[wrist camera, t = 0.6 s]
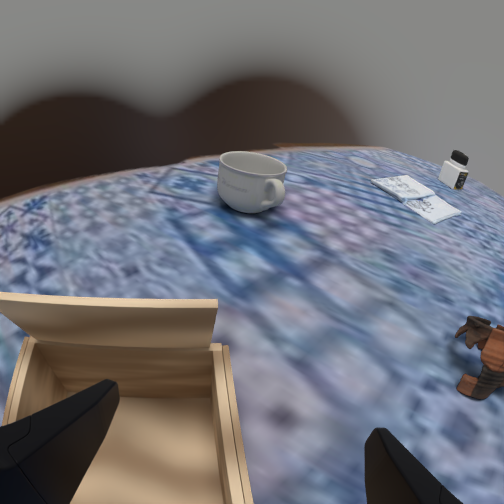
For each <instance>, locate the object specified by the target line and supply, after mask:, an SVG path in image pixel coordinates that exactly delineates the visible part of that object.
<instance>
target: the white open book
mask: <svg viewBox="0 0 504 504" xmlns="http://www.w3.org/2000/svg"><path fill="white" fill-rule="evenodd" d="M371 182H372V184H374V185H376V186H377V187H379V188H380V189H382V190H384V191H385V192H387V193H388V194H390V195H391V196H393V197H394V198H396V199H397V200H399V201H400V202H402V203H403V204H404V206H405V205H406V206H408V207H409V208H411V209H412V210H413V211H415V212H416V213H418V214H419V215H421V216H422V217H423V218H425V219H426V220H427V221H429V222H430V223H432V224H436V223H438V222H440V221H443V220H445V219H448V218H451V217H453V216H461V213H462V212H461V211H460V210H458V209H456V208H454V207H452V206H451V205H449V204H448V203H446V202H445V201H444V200H442V199H440V198H439V197H438V196H436V195H435V192H434V191H432V190H431V189H429V188H427V187H425V186H424V185H422V184H420V183H418V182H417V181H415V180H414V179H412V178H410V177H409V176H408V175H405V176H397V177H388V178H381V179H372V180H371ZM419 198H420V199H423V202H420V201H418V200H417V199H419Z"/></svg>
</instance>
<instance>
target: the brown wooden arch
mask: <svg viewBox="0 0 504 504" xmlns="http://www.w3.org/2000/svg"><path fill="white" fill-rule="evenodd" d="M490 324H491V321H489V320H486V319H483V318H480V317H475V316H468V317H467V322H466V324H465V325H464V326H462V327H460V328H459V330H458V331H457V333H456V335H455V338H457V337H458V336H460V335H461V334H463V333H465V332H466V341H465V344H466V346H467V347H468V348H469V349H471V348H472V347H473V346H474V344H477V343H478V349H482V351H481V361H482V363H483V364H484V365H483V367H482V371H481V374H480V376H479V377H478V378H476V377H472V376H469V375H467V374H464V375H463V376H462V378H461V381H460V383H459V385H458V387H457V390H458V391H460V392H461V393H463V394H465V395H468V396H471V397H474V398H476V399H485V398H487V397H488V396H489V395H490V394H491V393H492V392H493V391H494V390H495V389H496V388H500V387H504V327H503V326H501V325H497V327H496V328H493V327H491V326H489V325H490Z"/></svg>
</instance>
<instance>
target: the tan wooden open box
mask: <svg viewBox="0 0 504 504" xmlns="http://www.w3.org/2000/svg"><path fill="white" fill-rule="evenodd" d="M104 379H110V380H113V381H116V382H117V383H118V388H119V396H120V401H119V405H118V407H117V410H116V412H115V415H114V417H113V420H112V422H111V425H110V427H109V430H108V432H107V435H106V437H105V439H104V441H103V443H102V444H101V446H100V448H99V450H98V452H97V454H96V455H95V457H94V459H93V461H92V463H91V465H90V466H89V468H88V470H87V472H86V474H85V476H84V478H83V480H82V481H81V483H80V485H79V487H78V489H77V491H76V493H75V495H74V497H73V499H72V501H71V502H70V504H253V498H252V493H251V488H250V482H249V476H248V471H247V465H246V459H245V453H244V447H243V441H242V435H241V429H240V423H239V416H238V410H237V403H236V396H235V390H234V383H233V376H232V369H231V362H230V354H229V347H228V345H225V346H221V343H211V344H210V348H150V347H121V346H102V345H87V344H74V343H63V342H53V341H44V340H36V339H35V338H33V337H32V336H30V338H29V337H25V338H24V341H23V344H22V347H21V350H20V353H19V357H18V360H17V363H16V367H15V370H14V374H13V378H12V382H11V385H10V389H9V394H8V398H7V402H6V407H5V412H4V417H3V422H2V426H4V425H7V424H10V423H13V422H15V421H17V420H20V419H22V418H25V417H27V416H29V415H31V416H32V414H34V413H36V412H38V411H40V410H42V409H44V408H46V407H49V406H51V405H53V404H55V403H57V402H59V401H61V400H63V399H66V398H68V397H70V396H72V395H74V394H76V393H78V392H80V391H82V390H84V389H86V388H88V387H90V386H92V385H94V384H96V383H98V382H100V381H102V380H104Z"/></svg>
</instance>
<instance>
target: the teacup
mask: <svg viewBox="0 0 504 504" xmlns="http://www.w3.org/2000/svg"><path fill="white" fill-rule="evenodd" d="M219 161H220V164H219V172H218V183H217V188H218V193H219V195H220V197H221V198H222V199H223V200H224V201H225V202H226V203H227V205H229V206H230V207H231V208H233V209H235V210H237V211H240V212H245V213H259V212H262V211H264V210H267V209H269V208H270V207H276V206H278V205H280V204H281V203H282V202H283V200H284V197H285V188H284V185H283V182H284V178H285V174H286V172H287V167H286V166H285V164H284V163H282V162H281V161H279V160H277V159H275V158H272V157H270V156H266V155H263V154H258V153H253V152H243V151H237V152H228V153H225V154H222V155H221V156H220V158H219Z"/></svg>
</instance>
